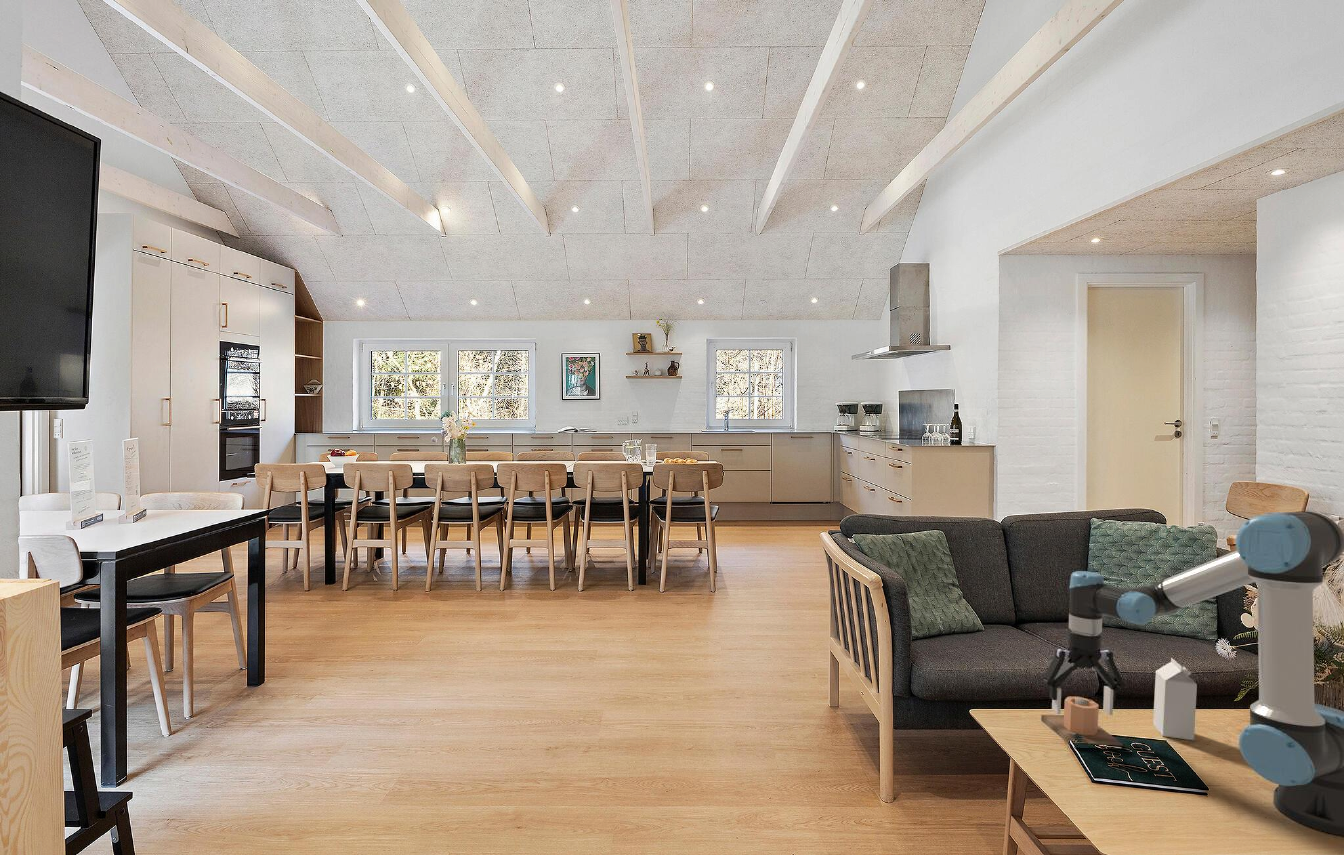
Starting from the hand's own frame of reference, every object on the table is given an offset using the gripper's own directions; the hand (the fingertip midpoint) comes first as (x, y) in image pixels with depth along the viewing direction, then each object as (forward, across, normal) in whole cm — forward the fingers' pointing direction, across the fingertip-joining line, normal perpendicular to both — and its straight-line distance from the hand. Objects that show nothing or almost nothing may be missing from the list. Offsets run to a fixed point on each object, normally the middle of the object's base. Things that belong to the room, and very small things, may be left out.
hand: (1082, 712), depth 186 cm
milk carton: (+6, -26, -2) cm, 27 cm away
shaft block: (+6, 0, 0) cm, 6 cm away
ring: (+4, 0, 0) cm, 4 cm away
